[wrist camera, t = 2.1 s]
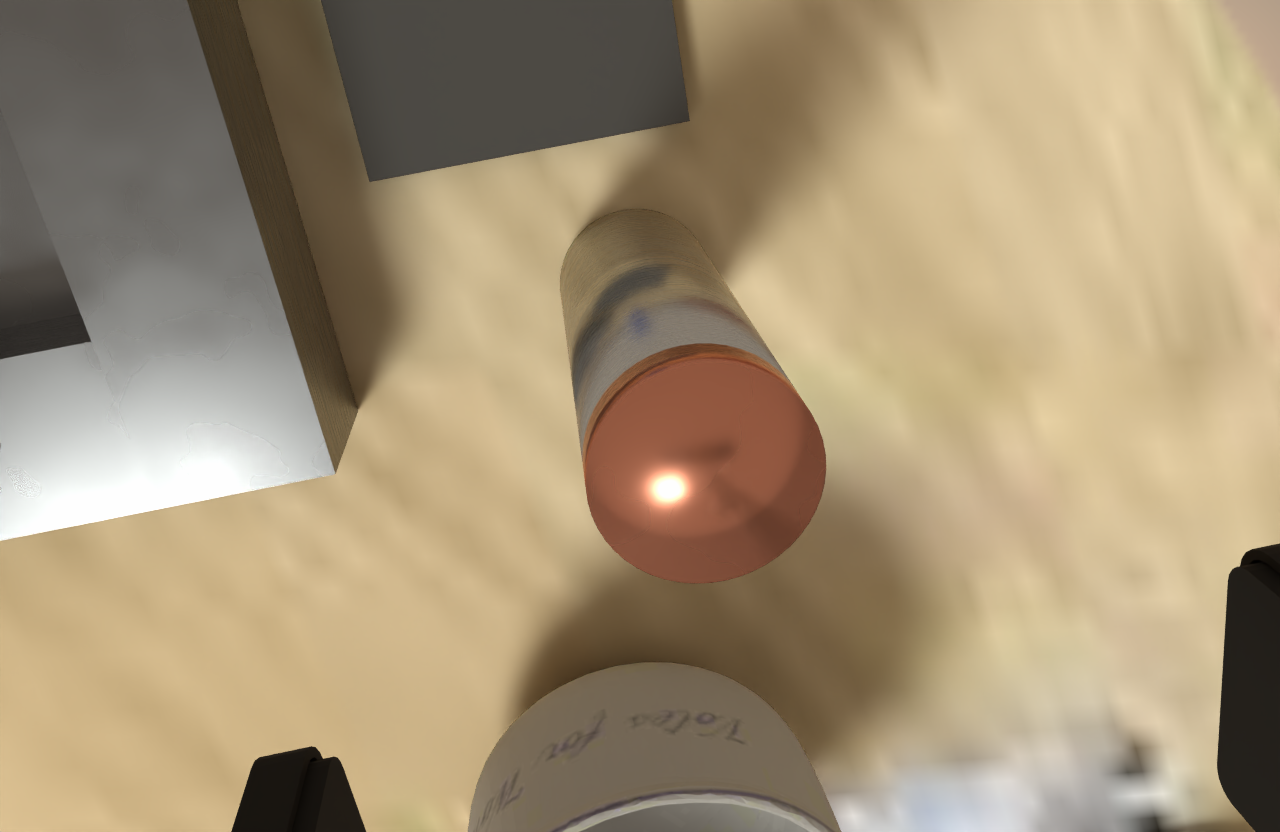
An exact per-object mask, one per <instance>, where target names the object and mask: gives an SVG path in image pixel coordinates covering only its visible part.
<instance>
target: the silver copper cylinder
mask: <svg viewBox="0 0 1280 832" xmlns="http://www.w3.org/2000/svg"><path fill="white" fill-rule="evenodd" d="M560 293H561V300H562V308H563V316H564V324H565V331H566V339H567V347H568V354H569V362H570V370H571V377H572V385H573V393H574V401H575V408H576V416H577V424H578V431H579V439H580V447H581V455H582V462H583V470H584V478H585V485H586V493H587V500H588V504H589V508H590V511H591V515H592V517H593V519H594V522H595V524H596V526H597V528H598V530H599V531H600V533H601V534H602V536H603V537H604V539H605V540H606V542H607V543H608V544H609V545H610V546H611V547H612V548H613V550H614V551H615V552H616V553H618V554H619V555H620V556H621V557H622V558H623V559H624V560H626V561H627V562H629V563H630V564H632V565H633V566H635V567H636V568H638V569H640V570H642V571H644V572H646V573H648V574H651V575H654V576H656V577H659V578H662V579H666V580H671V581H676V582H683V583H712V582H719V581H725V580H729V579H732V578H736V577H740V576H742V575H745V574H747V573H750V572H752V571H754V570H756V569H758V568H760V567H762V566H764V565H766V564H768V563H769V562H770V561H772V560H773V559H775V558H776V557H778V556H779V555H780V554H782V553H783V552H784V551H785V550H786V549H787V548H789V547H790V546H791V545H792V544H793V543H794V541H795V540H796V539H797V538H798V537H799V536H800V535H801V533H802V532H803V531H804V529H805V528H806V527H807V525H808V524H809V522H810V520H811V518H812V517H813V515H814V513H815V511H816V509H817V506H818V504H819V501H820V499H821V496H822V492H823V487H824V483H825V474H826V454H825V449H824V444H823V439H822V436H821V433H820V430H819V428H818V425H817V423H816V422H815V420H814V418H813V416H812V414H811V412H810V411H809V409H808V408H807V406H806V405H805V403H804V402H803V400H802V399H801V397H800V396H799V394H798V393H797V391H796V390H795V388H794V387H793V385H792V384H791V382H790V380H789V379H788V377H787V376H786V374H785V373H784V371H783V370H782V368H781V367H780V365H779V364H778V362H777V361H776V359H775V358H774V356H773V355H772V353H771V352H770V350H769V349H768V347H767V346H766V344H765V343H764V341H763V339H762V338H761V336H760V335H759V333H758V332H757V330H756V329H755V327H754V326H753V324H752V323H751V321H750V320H749V318H748V317H747V315H746V314H745V312H744V311H743V309H742V308H741V306H740V305H739V303H738V302H737V300H736V298H735V297H734V295H733V294H732V292H731V291H730V289H729V288H728V286H727V285H726V283H725V282H724V280H723V279H722V277H721V276H720V274H719V273H718V271H717V270H716V268H715V267H714V265H713V264H712V262H711V261H710V259H709V257H708V256H707V254H706V253H705V251H704V250H703V248H702V247H701V245H700V244H699V242H698V241H697V240H696V238H695V237H694V235H693V234H692V233H691V232H690V231H689V230H688V229H687V228H686V227H684V226H683V225H682V224H681V223H679V222H678V221H676V220H675V219H673V218H671V217H669V216H667V215H664V214H662V213H659V212H655V211H651V210H644V209H630V210H622V211H618V212H614V213H611V214H609V215H606V216H604V217H602V218H600V219H598V220H596V221H595V222H593V223H592V224H591V225H589V226H588V227H587V228H585V229H584V230H583V231H582V232H581V233H580V234H579V235H578V237H577V238H576V239H575V241H574V242H573V243H572V245H571V247H570V248H569V250H568V252H567V254H566V257H565V259H564V262H563V265H562V269H561V276H560Z"/></svg>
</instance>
